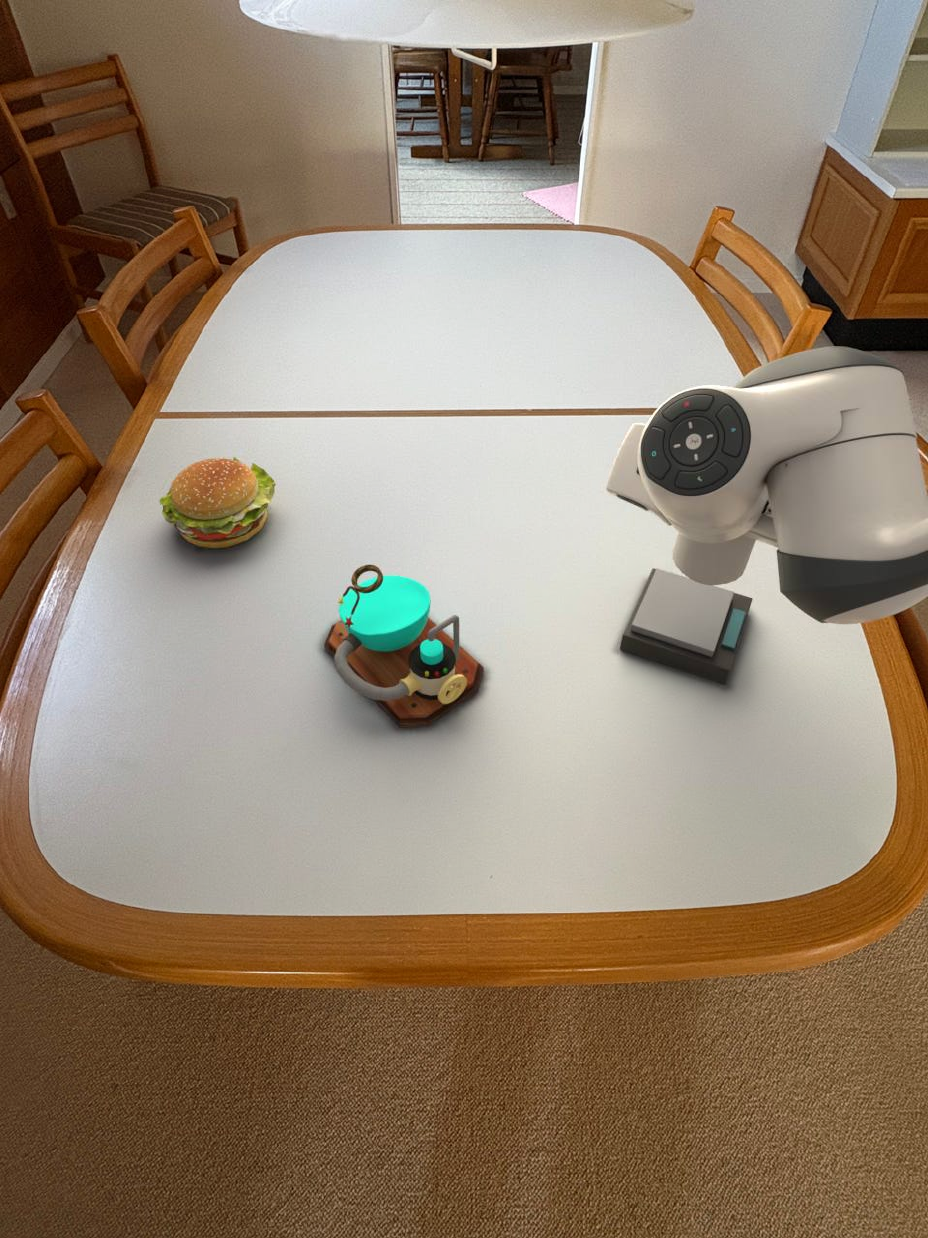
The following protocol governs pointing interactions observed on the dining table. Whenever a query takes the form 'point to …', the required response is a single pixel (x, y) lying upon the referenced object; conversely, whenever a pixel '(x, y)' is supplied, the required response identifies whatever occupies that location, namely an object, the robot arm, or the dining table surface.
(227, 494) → the food
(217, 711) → the dining table surface
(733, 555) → the can
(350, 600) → the contraption on wooden base
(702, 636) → the scale
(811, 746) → the dining table surface
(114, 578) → the dining table surface
